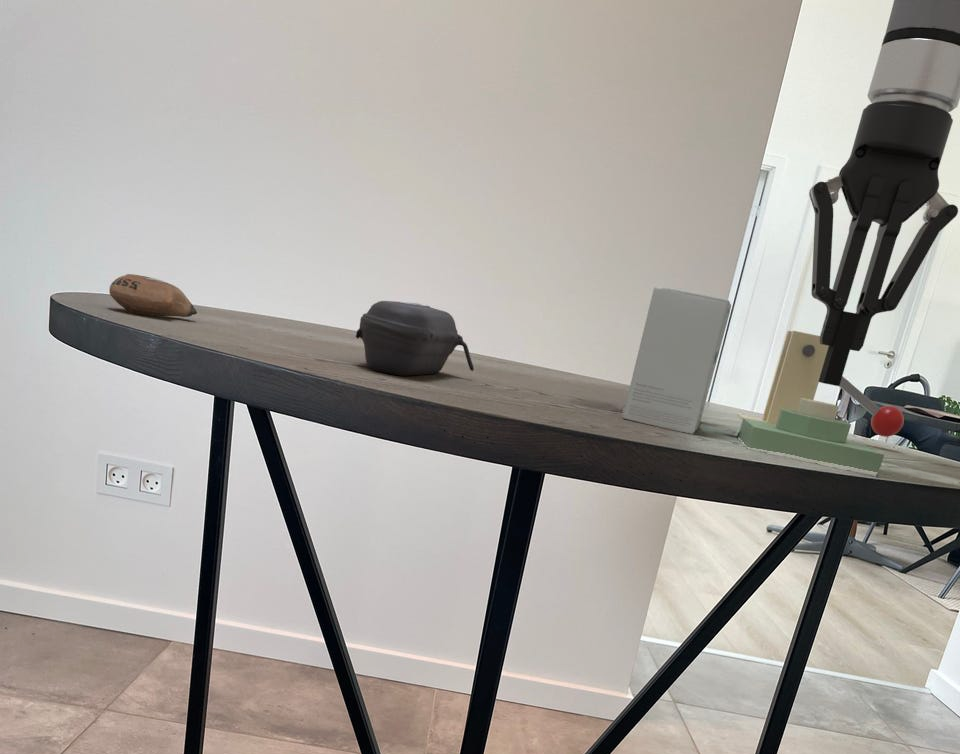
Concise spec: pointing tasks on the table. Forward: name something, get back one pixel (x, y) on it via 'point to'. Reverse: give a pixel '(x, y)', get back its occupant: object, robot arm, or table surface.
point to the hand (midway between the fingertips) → (828, 383)
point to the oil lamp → (150, 297)
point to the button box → (810, 440)
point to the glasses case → (408, 338)
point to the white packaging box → (676, 359)
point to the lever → (876, 412)
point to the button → (817, 409)
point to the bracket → (794, 374)
